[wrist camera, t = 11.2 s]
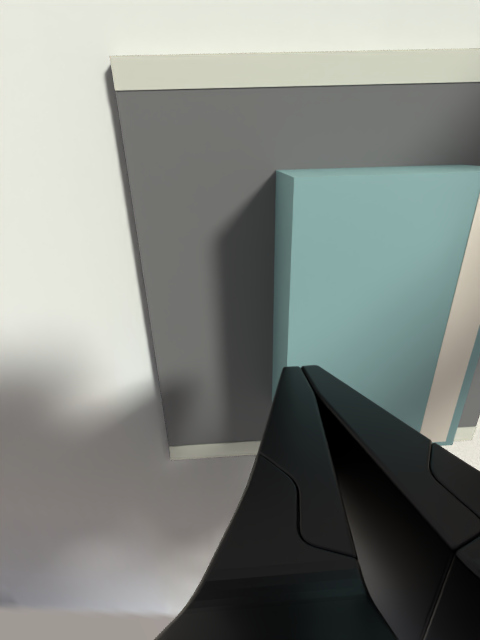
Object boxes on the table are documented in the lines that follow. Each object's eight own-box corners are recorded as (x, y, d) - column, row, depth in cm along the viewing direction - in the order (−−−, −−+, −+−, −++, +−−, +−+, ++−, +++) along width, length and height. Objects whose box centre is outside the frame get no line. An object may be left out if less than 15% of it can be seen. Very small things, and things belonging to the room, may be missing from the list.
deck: (275, 170, 11) (461, 164, 12) (271, 400, 15) (411, 392, 16) (293, 177, 9) (536, 170, 9) (283, 455, 13) (452, 445, 13)
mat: (588, 49, 11) (602, 45, 10) (466, 433, 17) (471, 440, 17) (113, 59, 10) (109, 56, 10) (171, 453, 17) (170, 460, 16)
